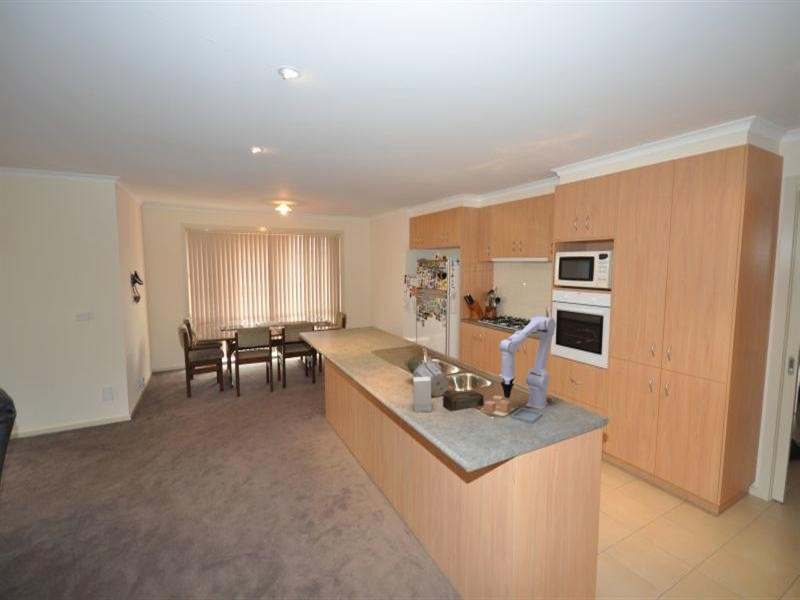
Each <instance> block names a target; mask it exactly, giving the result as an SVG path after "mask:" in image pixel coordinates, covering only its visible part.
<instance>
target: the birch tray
mask: <svg viewBox="0 0 800 600" xmlns="http://www.w3.org/2000/svg"><path fill="white" fill-rule="evenodd" d="M518 408H519V406H518V405H514V404H511V410H510V411H508V412H504V411H500V410H499V407H497V406H496V411H494V412H493V413H491V412H487V411H484V407H482V408H481V409H479V412H480V413H484V414H488V415H491V416H495V417H499V418H502V419H503V418H505V417H507V416H509V415H511V413H512V412H515V411H516V410H518Z"/></svg>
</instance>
